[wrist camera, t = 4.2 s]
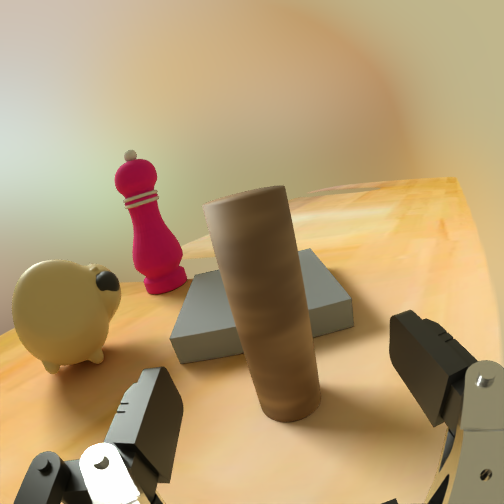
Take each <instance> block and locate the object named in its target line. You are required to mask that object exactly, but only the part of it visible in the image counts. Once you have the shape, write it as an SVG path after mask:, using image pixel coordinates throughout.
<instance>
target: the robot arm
mask: <svg viewBox="0 0 504 504" xmlns="http://www.w3.org/2000/svg"><path fill="white" fill-rule="evenodd" d="M389 354H390V359H391V362H392V364H393V366H394V368H395V369H396V371H397V372H398V374H399V375H400V377H401V378H402V380H403V381H404V383H405V384H406V386H407V387H408V389H409V390H410V392H411V393H412V395H413V396H414V398H415V399H416V401H417V402H418V404H419V405H420V407H421V408H422V410H423V411H424V413H425V414H426V416H427V418H428V419H429V421H430V422H431V424H432V425H433V427H435V426H437V425H439V424H441V423H443V422H445V423H446V425H447V426H448V428H447V430H446V434H445V439H444V444H443V448H442V452H441V457H440V461H439V464H438V468H437V472H436V475H435V478H434V481H433V483H432V485H431V488H430V490H429V492H428V495H427V497H426V500H425V502H424V504H504V368H503V367H502V366H501V365H500V364H498V363H496V362H493V361H488V360H484V361H477V360H476V359H475V358H474V357H473V356H472V355H471V354H470V353H469V352H468V351H467V350H466V349H465V348H464V347H463V346H462V345H461V344H460V343H459V342H458V341H457V340H455V339H453V337H452V336H451V335H450V334H449V333H447V332H446V330H445V329H444V328H443V327H442V326H440V325H439V324H438V323H436V322H434V321H431V320H429V319H423V320H422V319H421V318H420V317H419V316H418V315H417V314H416V313H415V312H413V311H412V310H408V311H405V312H402V313H400V314H397V315H394V316H392V317H391V318H390V344H389ZM120 403H121V405H119V407H118V409H117V413H116V414H115V416H114V418H113V421H112V423H111V425H110V428H109V430H108V433H107V435H106V437H105V440H104V442H103V443H101V444H96V445H94V446H92V447H90V448H89V449H87V450H86V451H85V452H84V454H83V455H82V457H81V459H78V460H71V461H63V460H62V459H61V458H60V457H59V456H58V455H57V454H56V453H54V452H51V451H47V452H43V453H40V454H39V455H37V456H36V457H35V458H34V459H33V461H32V463H31V465H30V467H29V469H28V471H27V473H26V475H25V478H24V480H23V482H22V484H21V487H20V489H19V491H18V494H17V496H16V499H15V501H14V504H60V503H61V502H62V503H64V504H166V503H165V502H164V500H163V499H162V497H161V496H160V494H159V493H158V492H157V491H156V487H157V483H170V479H171V473H172V468H173V462H174V457H175V452H176V447H177V441H178V436H179V431H180V426H181V421H182V416H183V402H182V399H181V396H180V394H179V392H178V390H177V388H176V386H175V384H174V383H173V381H172V379H171V377H170V375H169V372H168V371H167V369H166V368H165V367H156V368H147V369H144V370H143V371H142V373H141V375H140V378H139V380H138V382H137V383H133V385H132V386H131V387H130V388H129V389H128V390H127V391H126V392H125V394H124V396H123V398H122V400H121V402H120ZM382 504H398V503H397V500H396V498H395V499H392V500H390V501H387V502H385V503H382Z"/></svg>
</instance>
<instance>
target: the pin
mask: <svg viewBox="0 0 504 504" xmlns="http://www.w3.org/2000/svg"><path fill="white" fill-rule="evenodd" d="M202 207H203V211H204V215H205V218H206V222H207V226H208V230H209V234H210V237H211V241H212V245H213V248H214V252H215V256H216V259H217V263H218V266H219V270H220V274H221V277H222V281H223V284H224V288H225V291H226V295H227V298H228V302H229V305H230V308H231V312H232V315H233V319H234V322H235V325H236V329H237V332H238V335H239V338H240V342H241V345H242V348H243V351H244V355H245V358H246V361H247V364H248V367H249V371H250V374H251V377H252V380H253V383H254V386H255V389H256V392H257V395H258V398H259V401H260V404H261V407H262V410H263V412H264V413H265V415H266V416H268V417H269V418H271V419H273V420H276V421H280V422H292V421H297V420H300V419H303V418H305V417H307V416H309V415H310V414H311V413H313V412H314V411H315V410H316V408H317V407H318V405H319V403H320V400H321V393H320V386H319V378H318V371H317V364H316V357H315V350H314V343H313V337H312V330H311V324H310V318H309V312H308V305H307V300H306V294H305V288H304V282H303V277H302V271H301V265H300V260H299V255H298V249H297V244H296V239H295V234H294V229H293V224H292V219H291V214H290V209H289V204H288V200H287V195H286V190H285V186H272V187H265V188H259V189H254V190H250V191H245V192H241V193H237V194H233V195H229V196H225V197H222V198H219V199H216V200H213V201H210V202H207V203H205V204H203V205H202Z"/></svg>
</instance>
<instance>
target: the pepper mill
mask: <svg viewBox="0 0 504 504" xmlns="http://www.w3.org/2000/svg"><path fill="white" fill-rule="evenodd" d="M136 157H137V154H136V152H135V151H134V150H128V151H127V152H126V153H125V155H124V158H125V160H126V161H127V162H126V163H124V164H123V165H122V166H120V168H119V169H118V170H117V172H116V175H115V186H116V188H117V190H118V191H119V192H120V193H121V194H122V195H123V196H124V197H125V200H123V202H124V203H125V209H128V210H129V213H130V215H131V218H132V223H133V228H134V240H133V261H134V265H135V268H136V270H138V271H139V272H140V273H141V274H143V275H145V276H146V278H145V279H144V284H145V287H146V290H147V292H148V293H150V294H161V293H165V292H169V291H171V290H174V289H176V288H178V287H180V286H181V285H183V284H184V283H185V282H186V280H187V276H186V273H185V270H184V268H183V267H181V266H179V264H180V261H181V259H182V256H183V253H182V249H181V246H180V244H179V242H178V240H177V239H176V237H175V236H174V235H173V234H172V232H171V231H170V230H169V229H168V227H167V226H166V225H165V223H164V221H163V219H162V217H161V215H160V212H159V209H158V204H157V199H159V196H157V195H158V194H157V190H154V185H155V183H156V181H157V173H156V170H155V167H154V166H153V165H152V164H151V163H150V162H149V161H147V160H143V159H136Z"/></svg>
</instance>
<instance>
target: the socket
mask: <svg viewBox="0 0 504 504" xmlns="http://www.w3.org/2000/svg"><path fill="white" fill-rule="evenodd" d="M298 255H299V260H300V265H301V271H302V277H303V282H304V288H305V294H306V300H307V305H308V312H309V318H310V324H311V330H312V337H317V336H320V335H324V334H328V333H332V332H335V331H339V330H342V329H346V328H349V327H353V326H354V322H353V309H352V298H351V297H350V296H349V295H348V293H347V292H346V291H345V290H344V288H343V287H342V286H341V285H340V284H339V282H338V281H337V280H336V279H335V277H334V276H333V275H332V274H331V273H330V271H329V270H328V269H327V268H326V267H325V265H324V264H323V263H322V262H321V261H320V259H319V258H318V257H317V256H316V255H315V254H314V252H313V251H312V250H311V249H306V250H301V251H298ZM170 341H171V343H172V346H173V348H174V350H175V352H176V355H177V357H178V359H179V362H180V364H182V363H189V362H196V361H202V360H209V359H215V358H220V357H226V356H231V355H237V354H242V353H244V351H243V348H242V345H241V342H240V338H239V335H238V332H237V329H236V325H235V322H234V319H233V315H232V312H231V308H230V305H229V302H228V298H227V295H226V291H225V288H224V284H223V281H222V277H221V274H220V270H215V271H210V272H206V273H202V274H198V275H195V276H194V278H193V281H192V283H191V286H190V288H189V291H188V293H187V296H186V298H185V301H184V303H183V306H182V308H181V311H180V313H179V316H178V318H177V321H176V323H175V326H174V328H173V331H172V334H171V336H170Z"/></svg>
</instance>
